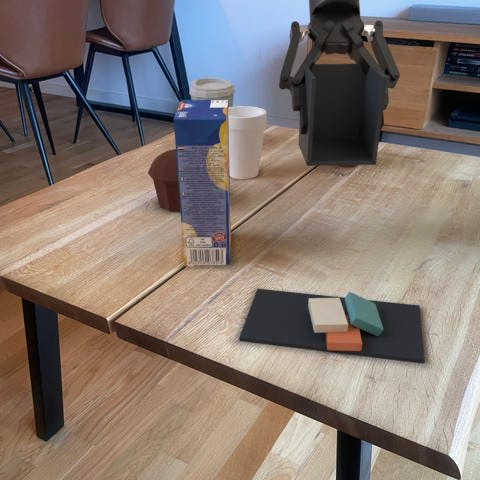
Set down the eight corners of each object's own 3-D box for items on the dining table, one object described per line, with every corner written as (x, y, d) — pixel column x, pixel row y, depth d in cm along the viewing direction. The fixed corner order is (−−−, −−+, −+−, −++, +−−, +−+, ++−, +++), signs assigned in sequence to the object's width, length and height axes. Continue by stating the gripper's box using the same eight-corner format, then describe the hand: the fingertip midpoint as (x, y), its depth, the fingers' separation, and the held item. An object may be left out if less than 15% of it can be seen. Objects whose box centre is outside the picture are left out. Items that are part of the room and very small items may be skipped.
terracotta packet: (328, 342, 65) (327, 350, 66) (362, 343, 65) (361, 351, 66) (324, 314, 70) (323, 322, 71) (356, 314, 70) (355, 322, 70)
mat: (418, 310, 74) (419, 305, 74) (423, 365, 65) (424, 359, 64) (257, 293, 78) (257, 288, 78) (239, 342, 68) (239, 337, 68)
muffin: (153, 218, 100) (147, 163, 94) (148, 196, 109) (143, 144, 103) (218, 212, 102) (216, 158, 96) (208, 191, 111) (206, 140, 105)
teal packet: (356, 317, 66) (350, 324, 67) (384, 329, 67) (378, 337, 68) (349, 291, 71) (344, 298, 72) (375, 303, 72) (370, 310, 73)
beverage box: (230, 236, 93) (228, 99, 81) (229, 268, 84) (226, 119, 72) (190, 236, 93) (181, 99, 81) (184, 268, 84) (173, 119, 72)
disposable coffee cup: (245, 146, 135) (245, 80, 127) (213, 157, 129) (211, 88, 120) (214, 138, 141) (212, 74, 133) (183, 147, 135) (178, 81, 126)
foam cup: (231, 185, 113) (230, 120, 106) (214, 171, 120) (212, 109, 113) (272, 178, 116) (274, 114, 109) (254, 165, 123) (254, 104, 116)
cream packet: (314, 324, 66) (314, 332, 67) (348, 324, 66) (347, 332, 67) (308, 298, 71) (307, 306, 72) (339, 297, 71) (338, 305, 72)
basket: (298, 144, 90) (302, 64, 83) (360, 143, 90) (369, 63, 83) (306, 166, 81) (311, 78, 74) (375, 164, 81) (387, 77, 75)
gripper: (400, 13, 88) (411, 141, 84) (257, 14, 88) (262, 143, 84) (415, -25, 81) (428, 113, 77) (260, -24, 81) (264, 115, 76)
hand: (341, 129), depth 80 cm, fingers closed on basket, 10 cm apart
